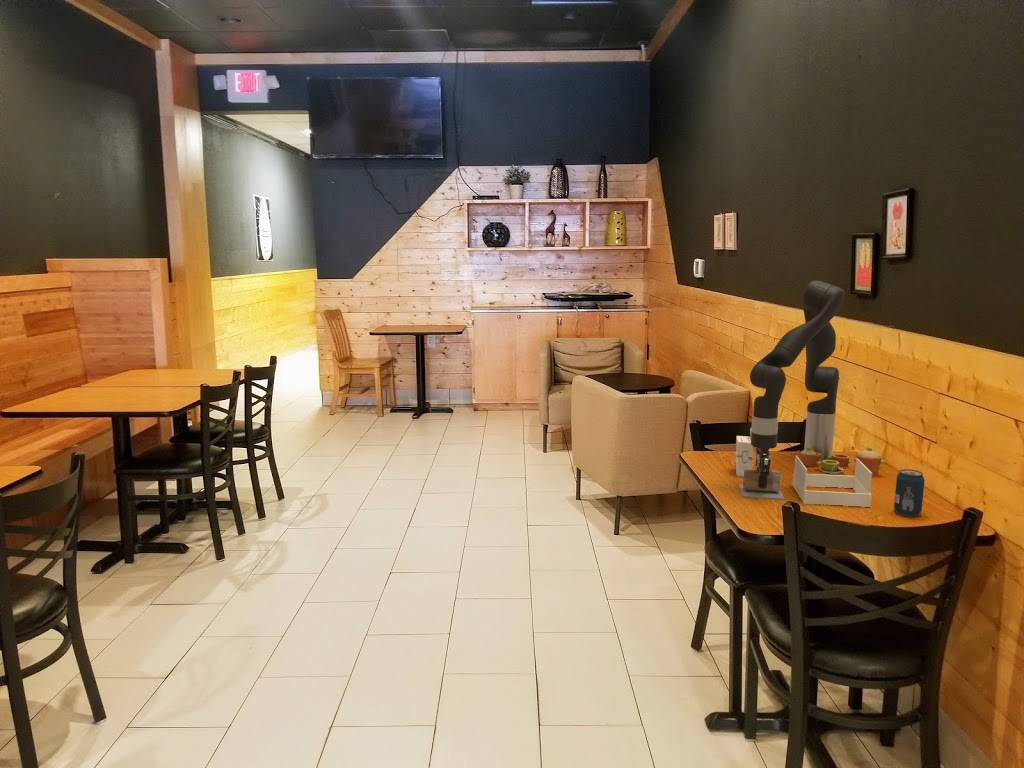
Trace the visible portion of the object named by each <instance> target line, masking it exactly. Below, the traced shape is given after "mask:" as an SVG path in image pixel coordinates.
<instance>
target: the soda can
mask: <svg viewBox="0 0 1024 768" xmlns="http://www.w3.org/2000/svg"><path fill="white" fill-rule="evenodd" d="M923 474H924V473H923V472H921V471H920V470H915V469H904V468H902V469H900V470H899V472H898V474H897V475H896V480H895V481H896V483H895V489H894V502H893V503H894V504H893V508H894V510H895V512H896V514H898V515H900V516H904V517H910V516H915V517H918V516H919V515H920V514H921V512H923V511H922V510H923V501H924V491H925V481H926V480H925V478H924V475H923Z"/></svg>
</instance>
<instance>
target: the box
mask: <svg viewBox="0 0 1024 768" xmlns="http://www.w3.org/2000/svg"><path fill="white" fill-rule="evenodd" d="M762 472H766V470H763V471H762ZM742 481H743V482H742V484H743V486H744V488H745V490H762V491H780V490H781V485H780V484H781V473H780V472H779V471H778V470H769V476H768V477H767V487H766V488H759V470H756V469H752V470H745V469H744V476H743V480H742Z"/></svg>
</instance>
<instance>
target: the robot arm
mask: <svg viewBox="0 0 1024 768" xmlns="http://www.w3.org/2000/svg"><path fill="white" fill-rule="evenodd" d="M845 300H846V292H845V290H844V289H843V288H841V287H839V286H837V285H834V284H831V283H828V282H826V281H823V280H822V281H821V280H811V281H810V282H808V284H807V285H806V286H805V289H804V291H803V294H802V309H803V310H802V311H803V315H804V322H805V323H803V324H800V325H798V326H796V327H794V328H792V329H790V330H788V331H787V332H786V333H784V335H783V336H782V337H781V338H780V339H779V340H778V342H777V343H776V345H775V346H774V348H773V349H772V350H770V352H769V353H766V355H765V356H764V357H762V358H761V359H760V360H759V361H757V362H756V363H755V364H754V366H753V367H752V369H751V371H750V374H749V381H750V383H751V384H752V385H753V386H754V387H756V388H760V389H765V392H764V394H763V395H760V396H757V397H756V396H755V398H754V401H753V414H752V415H753V416H752V420H751V432H750V437H751V445H752V446H753V448H755V452H754V454H755V464H754V465H755V470H759V488H766V487H767V477H768V476H769V471H771V470H770V469H771V461H772V460H771V459H772V457H771V456H772V455H771V453H770V449H775V448H777V445H778V433H779V420H778V417H779V404H780V402H781V401H780V400H781V398H782V395H783V392H784V390H785V386H786V383H787V381H786V380H787V378H786V373H785V371H784V370H783V368H788V367H790V366H792V364H794V363H795V361H796V360H797V359H798V357H799V355H800V354H801V353H802V352H803V350H804V348H805V358H806V359H805V369H804V370H805V372H804V386H805V389H806V391H808V392H811V393H819V394H827V395H826V396H825V397H822V398H820V399H817V400H813V401H810V402H808V403H807V406H806V407H807V409H806V422H805V436H804V449H803V450H806V449H807V446H810V447H811V450H813V451H814V452H818V453H820V454H821V455H820V459H819V461H821V462H822V461H823V460H828V457H829V456H832V455H833V451H834V450H833V449H834V437H835V425H836V424H835V423H836V411H837V409H836V408H837V396H838V395H837V394H838V388H839V380H840V372H839V369H838V368H837V367H834V366H824V365H823V366H821V365H822V364H823V363H824V362H825V361H827V360H829V358H830V357H832V355H833V354H834V352H835V349H836V347H837V346H836V343H837V341H836V340H837V334H836V331H835V328H834V327H833V326H834V325H832V323H831V322H830V321H831V320H832V319H833V318H834V317H835V316H837V314H838V313H839V312H840V310H841V308H842V307H843V304H844V303H845ZM763 470H766V472H762V471H763Z"/></svg>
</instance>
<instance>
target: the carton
mask: <svg viewBox="0 0 1024 768" xmlns="http://www.w3.org/2000/svg"><path fill="white" fill-rule="evenodd" d="M855 458H856V463H855V467H854V475H843V474H842V475H841V474H821V473H820V474H819V473H808V469H807V468H806V465H804V463H803V461H802V460H801V459H800V457H798V455H796V454H795V460H794V461H795V462H794V472H793V476H792V486H793V488H794V489H795V492H796V493H797V495H798V496H799V498H800V500H801V501H802V503H803V504H804V505H814V504H817V505H816V506H819V505H818V504H821V505H820V506H830V505H843V506H842V507H848V506H861V507H860V508H865V507H870V508H869V509H871V508H872V495H873V494H872V493H871V491H872V480H873V477H872V472H871V471H870V470H869V469H868V468H867V467H866V466H865V465H864V464H863V463H862V462H861V461H860V460H859V459H858V458H857V457H855ZM808 487H811V488H825V487H838V488H837V489H844V488H853V489H852V490H853V491H854V492H844V491H827V490H826V491H824V490H809V489H807V488H808ZM842 487H843V488H842ZM822 504H824V505H822ZM826 504H828V505H826Z"/></svg>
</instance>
